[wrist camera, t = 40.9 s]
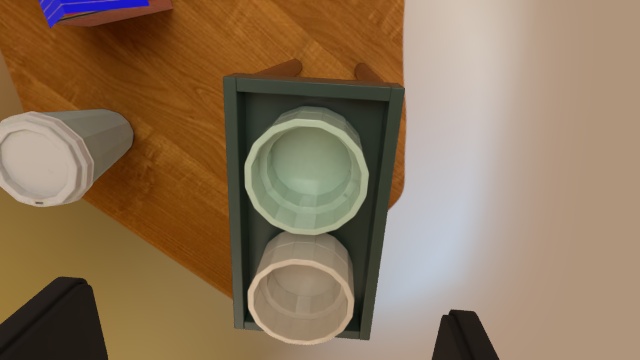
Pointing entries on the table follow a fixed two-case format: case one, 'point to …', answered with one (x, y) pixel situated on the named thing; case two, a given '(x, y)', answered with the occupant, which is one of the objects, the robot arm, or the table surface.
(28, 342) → the robot arm
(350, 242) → the tray
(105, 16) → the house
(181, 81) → the table surface
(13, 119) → the disposable coffee cup
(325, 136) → the dish
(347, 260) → the dish
